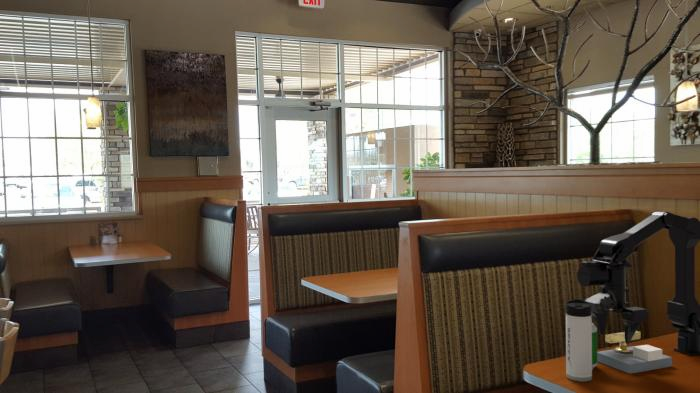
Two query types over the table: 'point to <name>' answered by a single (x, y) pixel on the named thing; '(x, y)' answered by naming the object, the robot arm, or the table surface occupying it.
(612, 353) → the lock plate
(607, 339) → the brass door handle
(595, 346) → the soda can
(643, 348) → the white square block
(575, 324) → the travel mug
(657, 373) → the table surface
